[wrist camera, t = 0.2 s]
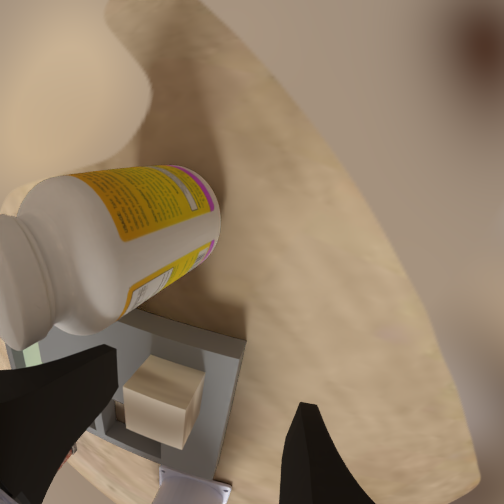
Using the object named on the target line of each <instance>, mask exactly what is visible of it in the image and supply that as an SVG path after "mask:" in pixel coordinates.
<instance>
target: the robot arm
mask: <svg viewBox="0 0 504 504" xmlns="http://www.w3.org/2000/svg"><path fill="white" fill-rule="evenodd" d="M118 387H119V385H118V369H117V349H116V348H113V347H111V346H108V345H106V344H102V345H98V346H95V347H92V348H89V349H87V350H84V351H81V352H78V353H75V354H72V355H69V356H66V357H64V358H61V359H57V360H54V361H50V362H47V363H43V364H39V365H35V366H31V367H25V368H19V369H12V370H0V504H42V502H43V499H44V497H45V495H46V492H47V490H48V488H49V486H50V484H51V482H52V480H53V478H54V476H55V474H56V473H57V471H58V469H59V468H60V466H61V464H62V462H63V461H64V459H65V458H66V456H67V454H68V453H69V451H70V450H71V448H72V447H73V445H74V444H75V443H76V441H77V440H78V439H79V438H80V436H81V435H82V434H83V433H84V432H85V431H86V430H87V428H88V427H89V426H90V425H91V424H92V423H93V422H94V420H95V419H96V418H97V417H98V416H99V415H100V413H101V412H102V411H103V410H104V409H105V408H106V406H107V405H108V404H109V402H110V400H111V399H112V397H113V396H114V394H115V392H116V391H117V389H118ZM159 481H160V488H159V490H158V492H157V494H156V496H155V498H154V500H153V502H152V504H226V503H227V500H228V497H229V495H230V492H231V489H232V487H231V486H230V485H228V484H225V483H221V482H217V481H213V480H212V481H211V480H207V479H204V478H200V477H197V476H194V475H191V474H187V473H184V472H181V471H178V470H176V469H173V468H170V467H167V466H164V465H162V464H161V465H160V466H159ZM279 504H375V503H374V502H373V501H372V499H371V498H370V497H369V496H368V495H367V494H366V493H365V492H364V490H363V489H362V488H361V487H360V485H359V484H358V483H357V481H356V480H355V479H354V477H353V476H352V474H351V473H350V471H349V470H348V468H347V467H346V465H345V463H344V462H343V460H342V458H341V456H340V455H339V453H338V451H337V449H336V447H335V445H334V443H333V441H332V439H331V437H330V435H329V433H328V431H327V428H326V426H325V424H324V421H323V419H322V416H321V414H320V411H319V408H318V406H317V405H315V404H309V403H303V402H300V403H299V406H298V409H297V411H296V414H295V416H294V419H293V421H292V424H291V426H290V428H289V431H288V433H287V436H286V439H285V444H284V450H283V456H282V464H281V481H280V498H279Z"/></svg>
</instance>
